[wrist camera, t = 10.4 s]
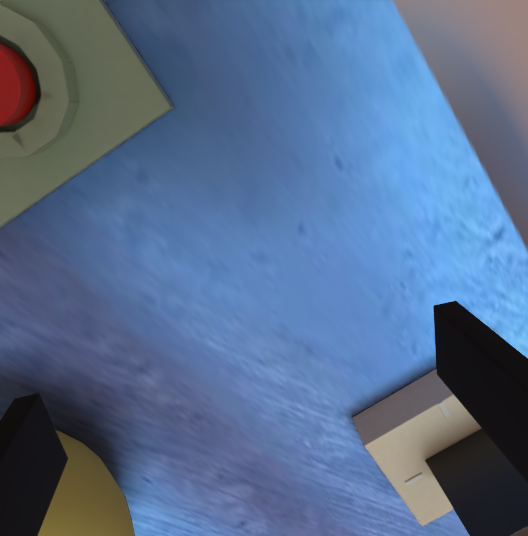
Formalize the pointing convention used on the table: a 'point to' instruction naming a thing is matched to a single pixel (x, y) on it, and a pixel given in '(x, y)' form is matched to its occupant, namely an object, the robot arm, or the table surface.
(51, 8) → the block
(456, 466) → the dark grey block
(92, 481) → the vase
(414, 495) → the beige flat block
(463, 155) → the table surface
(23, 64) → the power button
